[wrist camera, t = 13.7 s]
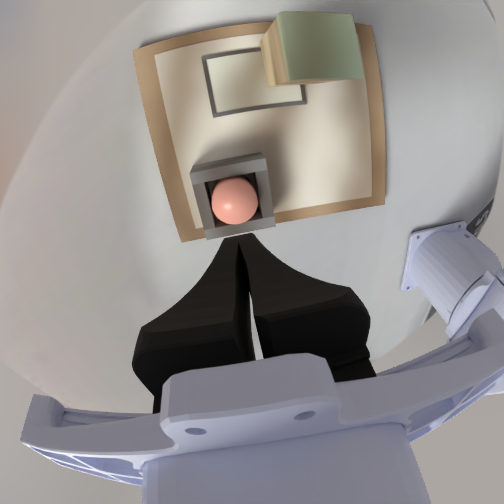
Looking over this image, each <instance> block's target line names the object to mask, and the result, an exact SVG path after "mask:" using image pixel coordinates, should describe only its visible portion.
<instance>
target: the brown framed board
mask: <svg viewBox="0 0 504 504" xmlns="http://www.w3.org/2000/svg"><path fill="white" fill-rule="evenodd" d="M273 22H274V21H272V22H259V23H249V24H240V25H233V26H226V27H220V28H214V29H209V30H204V31H199V32H194V33H190V34H186V35H182V36H178V37H174V38H170V39H167V40H163V41H160V42H157V43H153V44H150V45H147V46H144V47H141V48H138V49H135V50H133V55H134V60H135V66H136V71H137V76H138V81H139V86H140V91H141V96H142V100H143V105H144V109H145V114H146V118H147V122H148V127H149V131H150V135H151V139H152V143H153V147H154V151H155V154H156V158H157V162H158V166H159V169H160V173H161V177H162V180H163V184H164V187H165V191H166V194H167V197H168V201H169V204H170V207H171V211H172V214H173V217H174V220H175V224H176V227H177V230H178V233H179V236H180V239H181V242H187V241H192V240H196V239H201V238H206V239H207V240H209V239H214V238H219V237H224V236H229V235H234V234H239V233H244V232H249V231H254V230H259V229H265V228H270V227H275V226H276V225H275V224H276V223H282V222H287V221H292V220H298V219H303V218H309V217H314V216H320V215H325V214H331V213H337V212H342V211H348V210H354V209H360V208H366V207H372V206H378V205H384V204H385V184H386V148H385V123H384V109H383V97H382V88H381V79H380V72H379V65H378V58H377V52H376V46H375V41H374V36H373V31H372V26H370V25H363V24H354V25H355V29H356V34H357V39H358V44H359V50H360V56H361V62H362V68H363V75H364V78H362V79H350V80H341V81H333V82H325V83H318V84H302V85H289V86H279V87H270V88H268V85H267V79H266V73H265V68H264V62H263V57H262V52H261V47H260V41H261V39H262V38H263V36H264V35H265V33H266V32H267V30H268V29H269V27H270V26H271V25H272V23H273ZM242 174H244V175H245V176H247V177H248V178H249V179H250V181H251V183H252V185H253V188H254V190H255V193H256V196H257V200H258V205H257V209H256V212H255V214H254V215H253V216H252V217H251V218H250V219H249V220H248V221H246V222H244V223H241V224H227V223H225V222H223V221H221V220H220V219H218V218H217V216H216V215H215V214H214V212H213V209H212V194H213V186H214V184H215V182H216V180H217V179H222V178H227V177H232V176H237V175H242Z"/></svg>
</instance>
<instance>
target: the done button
mask: <svg viewBox="0 0 504 504" xmlns="http://www.w3.org/2000/svg"><path fill="white" fill-rule="evenodd" d="M257 205H258V200H257V196H256V193H255V190H254V188H253V185H252V183H251V181H250V179H249V178H248V177H247V176H245V175H244V174H242V175H237V176H232V177H227V178H222V179H217V180H216V182H215V184H214V186H213V194H212V209H213V212H214V214H215V215H216V216H217V218H218V219H220V220H221V221H223V222H225V223H227V224H241V223H244V222H246V221H248V220H249V219H250V218H251V217H252V216H253V215H254V214H255V212H256V209H257Z"/></svg>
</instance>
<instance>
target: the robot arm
mask: <svg viewBox="0 0 504 504" xmlns="http://www.w3.org/2000/svg"><path fill="white" fill-rule="evenodd" d="M466 226H467V223H466V222H465V221H460V222H456V223H452V224H447V225H443V226H439V227H434V228H430V229H425V230H421V231H417V232H413V233H412V234H411V235H410V239H409V246H408V252H407V258H406V263H405V269H404V274H403V279H402V283H401V288H400V289H401V291H402V292H405V291H408V290H411V289H414V288H417V287H418V288H419V289H420V290H421V291H422V293H423V294H424V295H425V296H426V297H427V299H428V300H429V301H430V302H431V304H432V305H433V306H434V308H435V309H436V310H437V311H438V313H439V314H440V315H441V317H442V318H443V319H444V321H445V322H446V323H447V325H448V327H447V328H446V329H445V332H446V333H447V334H448V336H449V337H450V338H449V339H448V340H447V343H446V344H445V345H444V346H441V347H439V348H437V349H435V350H433V351H431V352H429V353H426V354H425V355H422V356H420V357H418V358H415V359H413V360H411V361H408V362H406V363H404V364H401V365H398V366H396V367H393V368H391V369H388V370H386V371H383V372H380V373H377V374H376V373H375V371H374V369H373V367H372V365H371V363H370V360H369V358H370V353H369V350H368V348H367V346H366V342H367V338H368V334H369V329H370V315H369V313H368V311H367V309H366V307H365V306H364V304H363V303H362V301H361V300H360V299H359V297H358V296H357V295H356V294H355V293H354V291H353V290H352V289H351V288H350V287H346V286H341V285H336V284H331V283H327V282H324V281H321V280H318V279H315V278H312V277H310V276H307V275H305V274H303V273H301V272H299V271H297V270H295V269H293V268H291V267H289V266H288V265H286V264H285V263H283V262H282V261H281V260H279V259H278V258H277V257H275V256H274V255H273V254H272V253H271V252H270V251H269V250H267V249H266V248H265V247H264V246H263V245H262V244H261V242H260V241H259V240H258V239H257V238H256V236H255V235H254V234H253V233H248V234H243V235H238V236H233V237H228V238H224V240H223V241H222V243H221V246H220V248H219V250H218V252H217V254H216V255H215V257H214V259H213V261H212V262H211V264H210V266H209V267H208V269H207V270H206V272H205V273H204V275H203V276H202V277H201V279H200V280H199V281H198V282H197V284H196V285H195V286H194V287H193V288H192V289H191V290H190V291H189V292H188V293H187V294H186V295H185V296H184V297H183V298H182V299H181V300H180V301H179V302H177V303H176V304H175V305H174V306H172V307H171V308H170V309H169V310H167V311H166V312H165V313H163V314H162V315H160V316H159V317H157V318H155V319H154V320H152V321H151V322H149V323H147V324H146V325H144V326H142V327H141V330H140V333H139V335H138V338H137V342H136V347H135V351H134V356H133V360H132V367H133V371H134V372H135V374H136V376H137V377H138V378H139V379H140V381H141V382H142V383H143V384H144V385H145V386H146V388H147V389H148V390H149V391H150V392H151V393H152V394H153V395H154V404H153V414H144V413H113V412H99V411H88V410H79V409H71V408H64V406H63V405H62V404H61V403H60V402H59V401H57V400H56V399H54V398H52V397H49V396H44V395H38V394H34V395H33V398H32V401H31V404H30V407H29V410H28V413H27V417H26V420H25V424H24V427H23V431H22V435H21V438H20V440H21V442H22V443H24V444H25V445H26V446H28V447H30V448H31V449H33V450H34V451H36V452H38V453H39V454H41V455H43V456H44V457H46V458H48V459H50V460H51V461H53V462H55V463H57V464H59V465H61V466H64V467H67V468H71V469H74V470H77V471H80V472H84V473H88V474H91V475H95V476H98V477H102V478H106V479H110V480H115V481H118V482H123V483H128V484H133V485H138V486H142V504H431V501H430V498H429V495H428V492H427V489H426V486H425V483H424V480H423V478H422V475H421V472H420V469H419V467H418V464H417V461H416V459H415V456H414V453H413V451H412V448H411V446H410V443H411V442H413V441H415V440H417V439H419V438H420V437H422V436H424V435H426V434H427V433H429V432H431V431H432V430H434V429H436V428H437V427H439V426H441V425H442V424H444V423H445V422H447V421H448V420H450V419H451V418H453V417H454V416H456V415H457V414H459V413H460V412H461V411H463V410H464V409H466V408H467V407H469V406H470V405H471V404H473V403H474V402H476V401H477V400H478V399H479V398H481V397H482V396H484V395H490V394H498V393H504V268H503V269H502V266H501V263H500V261H499V259H498V257H497V256H496V254H495V253H494V252H493V251H492V250H490V249H489V248H488V247H487V246H486V245H485V244H483V243H482V242H481V241H480V240H478V239H477V238H476V237H475V236H473V235H472V234H471V233H470V232H468V231H467V230H466ZM249 292H250V294H249ZM250 295H251V298H252V304H253V314H254V319H255V324H256V328H257V332H258V336H259V341H260V345H261V349H262V353H263V358H264V359H261V360H256V358H255V353H254V347H253V340H252V332H251V314H250Z"/></svg>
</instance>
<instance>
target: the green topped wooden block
mask: <svg viewBox="0 0 504 504" xmlns="http://www.w3.org/2000/svg"><path fill="white" fill-rule="evenodd" d="M260 47H261V52H262V57H263V62H264V68H265V73H266V79H267V85H268V88H270V87H279V86H289V85H302V84H318V83H325V82H333V81H341V80H350V79H362V78H364V75H363V68H362V62H361V56H360V50H359V44H358V39H357V34H356V29H355V25H354V20H353V16H352V15H350V14H341V13H328V12H301V11H294V12H280V13H279V15H278V16H277V17H276V19H275V20H274V22H273V23H272V25H271V26H270V27H269V29H268V30H267V32H266V33H265V35H264V36H263V38H262V39H261V41H260Z"/></svg>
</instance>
